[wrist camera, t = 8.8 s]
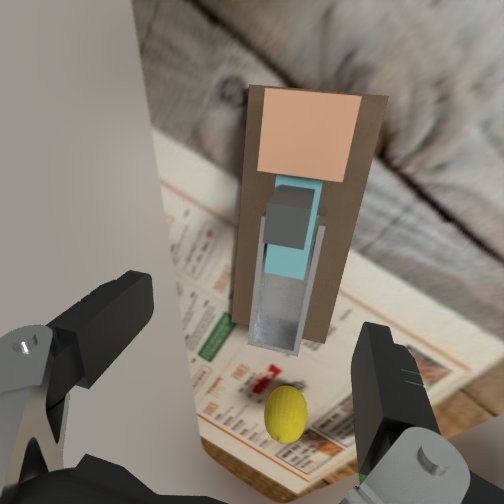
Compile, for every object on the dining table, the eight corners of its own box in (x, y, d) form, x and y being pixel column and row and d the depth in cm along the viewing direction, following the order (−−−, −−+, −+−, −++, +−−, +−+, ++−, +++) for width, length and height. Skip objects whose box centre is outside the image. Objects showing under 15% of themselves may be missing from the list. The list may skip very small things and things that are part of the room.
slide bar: (288, 121, 26) (268, 122, 18) (333, 126, 26) (334, 129, 17) (269, 259, 32) (248, 308, 24) (306, 266, 32) (297, 319, 23)
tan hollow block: (275, 93, 26) (265, 87, 22) (356, 100, 25) (361, 96, 21) (268, 163, 29) (257, 170, 25) (340, 172, 28) (342, 182, 23)
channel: (251, 85, 27) (239, 80, 24) (386, 96, 25) (396, 92, 21) (233, 317, 39) (223, 338, 35) (324, 338, 37) (324, 363, 33)
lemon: (263, 378, 42) (249, 430, 35) (296, 368, 40) (289, 422, 33) (283, 405, 43) (274, 460, 36) (316, 396, 41) (313, 454, 34)
